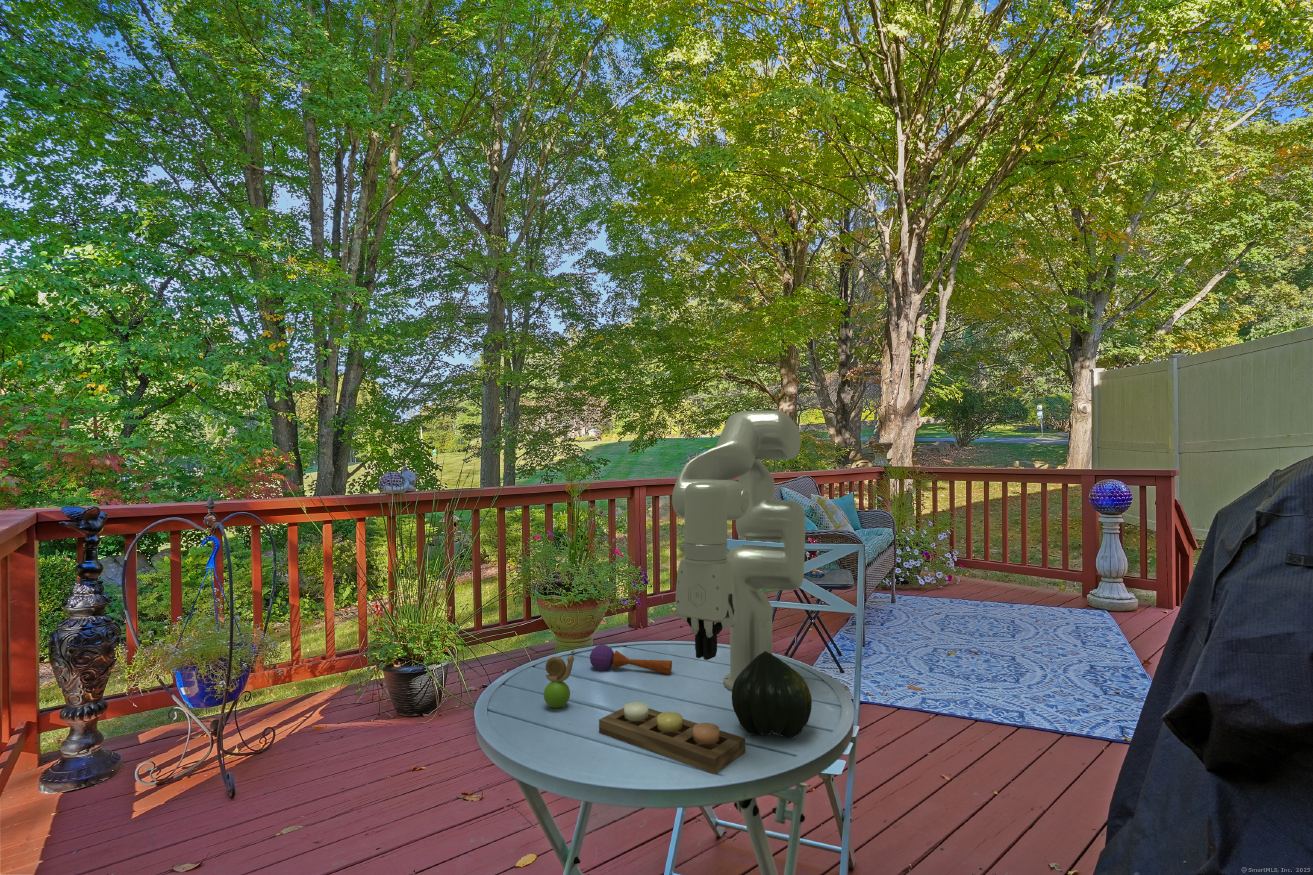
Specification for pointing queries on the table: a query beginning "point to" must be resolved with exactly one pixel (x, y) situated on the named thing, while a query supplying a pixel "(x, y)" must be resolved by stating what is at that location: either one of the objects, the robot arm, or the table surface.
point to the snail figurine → (558, 681)
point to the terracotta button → (706, 733)
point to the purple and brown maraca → (624, 661)
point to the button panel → (674, 741)
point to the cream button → (636, 711)
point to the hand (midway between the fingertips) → (706, 656)
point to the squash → (771, 698)
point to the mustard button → (669, 722)
